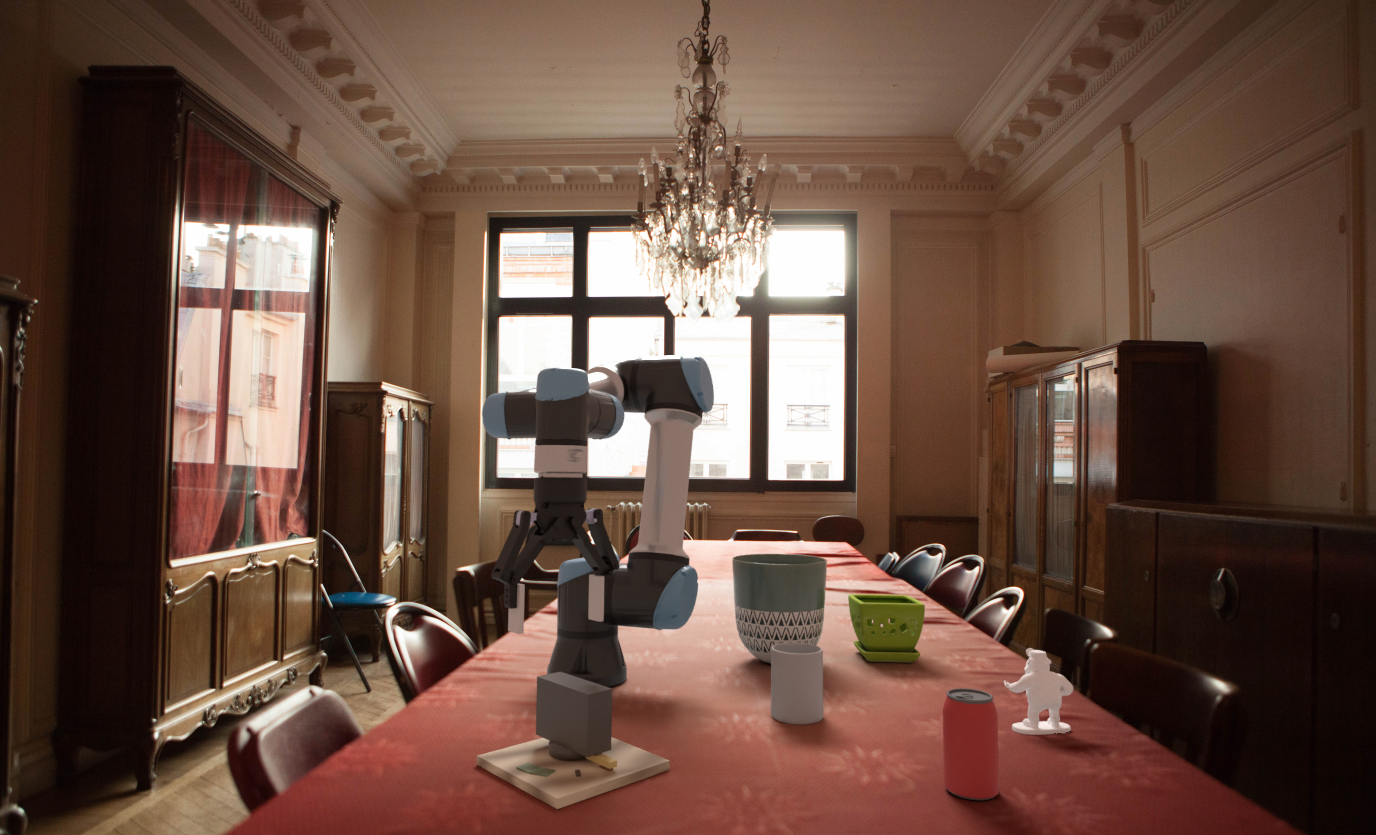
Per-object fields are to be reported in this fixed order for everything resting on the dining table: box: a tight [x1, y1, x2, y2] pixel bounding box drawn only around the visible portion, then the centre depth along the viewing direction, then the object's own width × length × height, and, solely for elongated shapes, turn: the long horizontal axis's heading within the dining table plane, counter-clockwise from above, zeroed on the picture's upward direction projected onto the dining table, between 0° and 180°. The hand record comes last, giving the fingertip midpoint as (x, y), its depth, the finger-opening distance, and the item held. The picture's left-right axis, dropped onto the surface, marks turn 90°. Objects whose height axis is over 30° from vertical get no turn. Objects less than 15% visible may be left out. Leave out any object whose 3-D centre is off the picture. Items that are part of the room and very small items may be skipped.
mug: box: [770, 643, 824, 725], centre depth 130 cm, size 12×8×11 cm
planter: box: [731, 553, 828, 664], centre depth 165 cm, size 20×20×21 cm
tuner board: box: [476, 736, 671, 810], centre depth 106 cm, size 19×18×1 cm
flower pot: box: [848, 593, 926, 664], centre depth 169 cm, size 14×14×13 cm
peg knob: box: [535, 672, 617, 769], centre depth 107 cm, size 15×6×9 cm, turn 44°
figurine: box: [1003, 647, 1074, 736], centre depth 123 cm, size 9×7×12 cm
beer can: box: [942, 687, 1000, 801], centre depth 99 cm, size 7×7×12 cm
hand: (557, 626), depth 111 cm, fingers open, 13 cm apart
